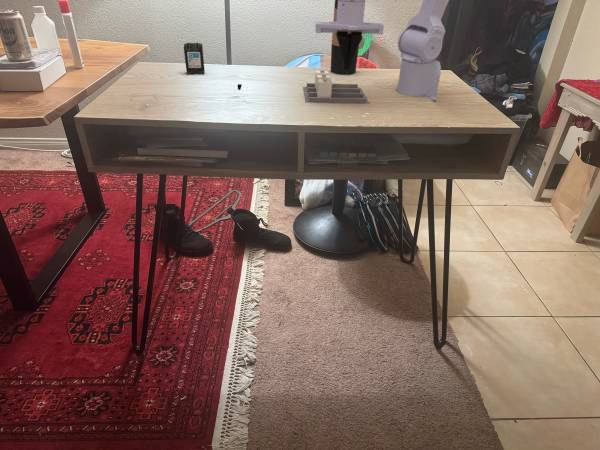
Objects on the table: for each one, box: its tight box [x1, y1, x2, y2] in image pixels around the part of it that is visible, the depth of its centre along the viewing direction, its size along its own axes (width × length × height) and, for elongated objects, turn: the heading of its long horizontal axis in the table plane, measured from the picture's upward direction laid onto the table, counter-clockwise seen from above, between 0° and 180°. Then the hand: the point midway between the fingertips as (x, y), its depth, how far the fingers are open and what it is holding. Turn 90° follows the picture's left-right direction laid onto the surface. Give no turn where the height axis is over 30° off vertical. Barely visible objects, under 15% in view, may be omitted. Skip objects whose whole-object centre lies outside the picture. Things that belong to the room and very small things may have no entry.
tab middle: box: [316, 72, 331, 92], centre depth 103 cm, size 3×3×5 cm
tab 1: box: [314, 67, 330, 88], centre depth 106 cm, size 3×3×5 cm
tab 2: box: [317, 77, 333, 98], centre depth 99 cm, size 3×3×5 cm
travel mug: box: [330, 0, 360, 76], centre depth 119 cm, size 8×8×20 cm
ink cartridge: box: [183, 42, 206, 75], centre depth 119 cm, size 5×2×8 cm, turn 99°
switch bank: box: [302, 82, 371, 105], centre depth 104 cm, size 15×13×2 cm
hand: (346, 67), depth 97 cm, fingers closed
